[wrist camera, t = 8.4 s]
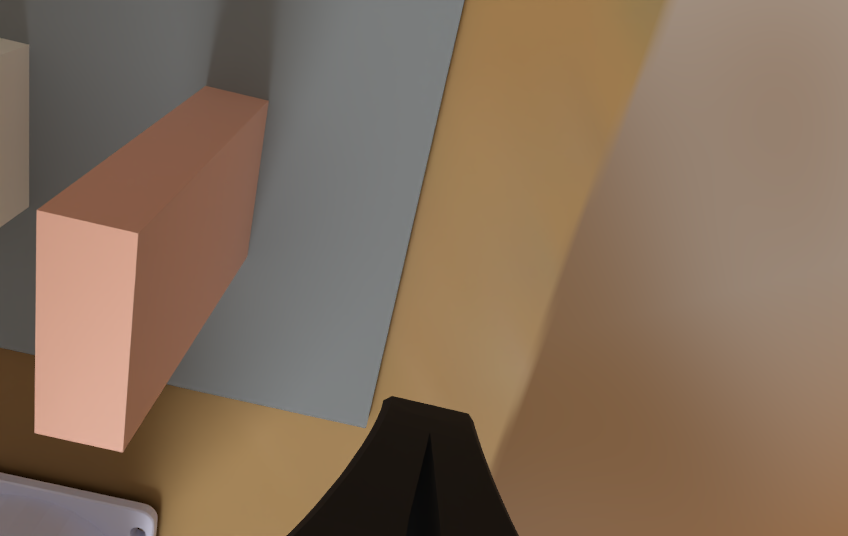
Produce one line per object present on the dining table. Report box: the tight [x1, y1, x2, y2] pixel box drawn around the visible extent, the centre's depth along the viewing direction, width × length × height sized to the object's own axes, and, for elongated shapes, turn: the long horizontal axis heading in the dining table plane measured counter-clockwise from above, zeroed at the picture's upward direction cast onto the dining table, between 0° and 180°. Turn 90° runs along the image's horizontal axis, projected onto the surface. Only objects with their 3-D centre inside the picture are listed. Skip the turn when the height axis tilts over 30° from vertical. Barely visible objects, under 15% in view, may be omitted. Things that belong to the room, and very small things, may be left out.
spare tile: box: [34, 86, 269, 452], centre depth 17 cm, size 4×2×8 cm, turn 168°
